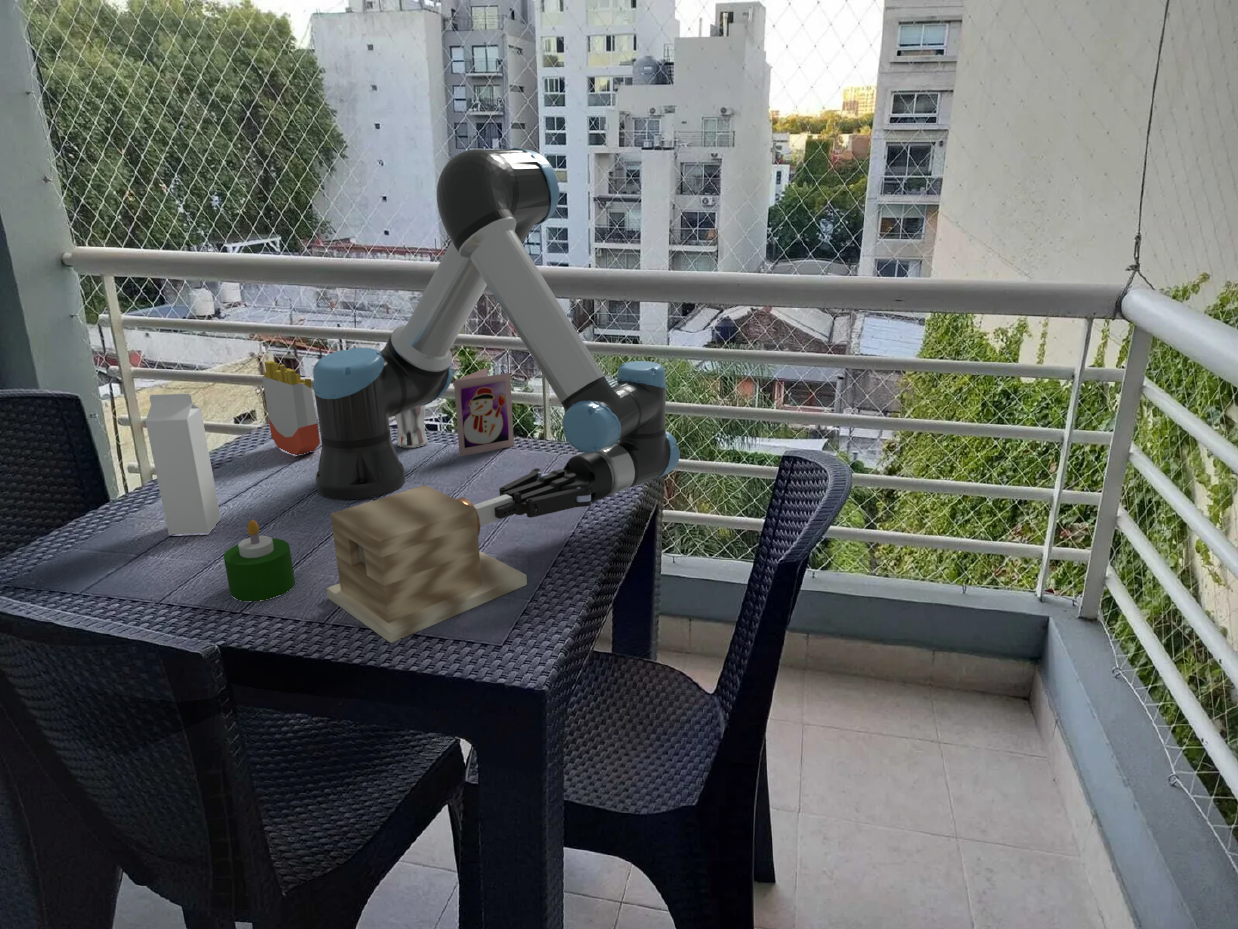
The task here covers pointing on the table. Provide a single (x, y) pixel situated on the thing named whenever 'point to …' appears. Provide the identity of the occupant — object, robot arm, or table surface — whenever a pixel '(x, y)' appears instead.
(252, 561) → the candle
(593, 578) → the table surface
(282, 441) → the french fries container
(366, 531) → the press block
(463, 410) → the greeting card
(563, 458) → the table surface
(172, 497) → the milk
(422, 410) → the beer glass
